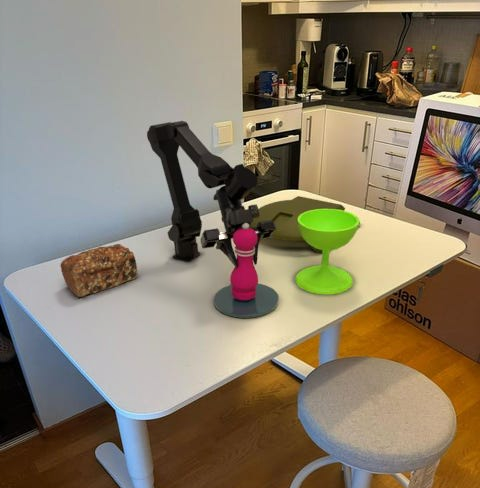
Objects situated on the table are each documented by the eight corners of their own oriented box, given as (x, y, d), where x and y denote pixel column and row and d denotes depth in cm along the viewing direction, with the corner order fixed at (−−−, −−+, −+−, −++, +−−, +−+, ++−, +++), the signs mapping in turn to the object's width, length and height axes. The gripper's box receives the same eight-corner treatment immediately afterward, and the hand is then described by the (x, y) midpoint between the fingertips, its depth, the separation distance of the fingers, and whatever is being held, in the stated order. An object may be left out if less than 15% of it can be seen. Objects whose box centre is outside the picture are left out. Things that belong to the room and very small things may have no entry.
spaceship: (286, 208, 187) (286, 182, 182) (362, 225, 172) (365, 197, 166) (231, 240, 164) (230, 212, 158) (313, 263, 148) (315, 232, 143)
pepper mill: (261, 290, 131) (264, 219, 120) (252, 303, 125) (255, 230, 114) (235, 285, 133) (236, 215, 122) (225, 298, 127) (226, 225, 116)
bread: (78, 300, 133) (70, 267, 128) (64, 285, 140) (56, 253, 135) (140, 279, 142) (135, 247, 137) (123, 266, 150) (118, 235, 144)
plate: (201, 309, 128) (201, 305, 127) (234, 281, 140) (234, 277, 139) (260, 325, 120) (260, 321, 120) (289, 294, 133) (289, 290, 132)
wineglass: (293, 267, 146) (295, 209, 136) (348, 267, 145) (354, 208, 135) (297, 294, 132) (299, 232, 123) (357, 294, 132) (364, 231, 122)
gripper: (200, 198, 116) (216, 261, 113) (274, 188, 121) (290, 248, 118) (194, 218, 126) (208, 276, 124) (262, 208, 131) (277, 263, 129)
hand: (246, 265), depth 123 cm, fingers closed on pepper mill, 4 cm apart
